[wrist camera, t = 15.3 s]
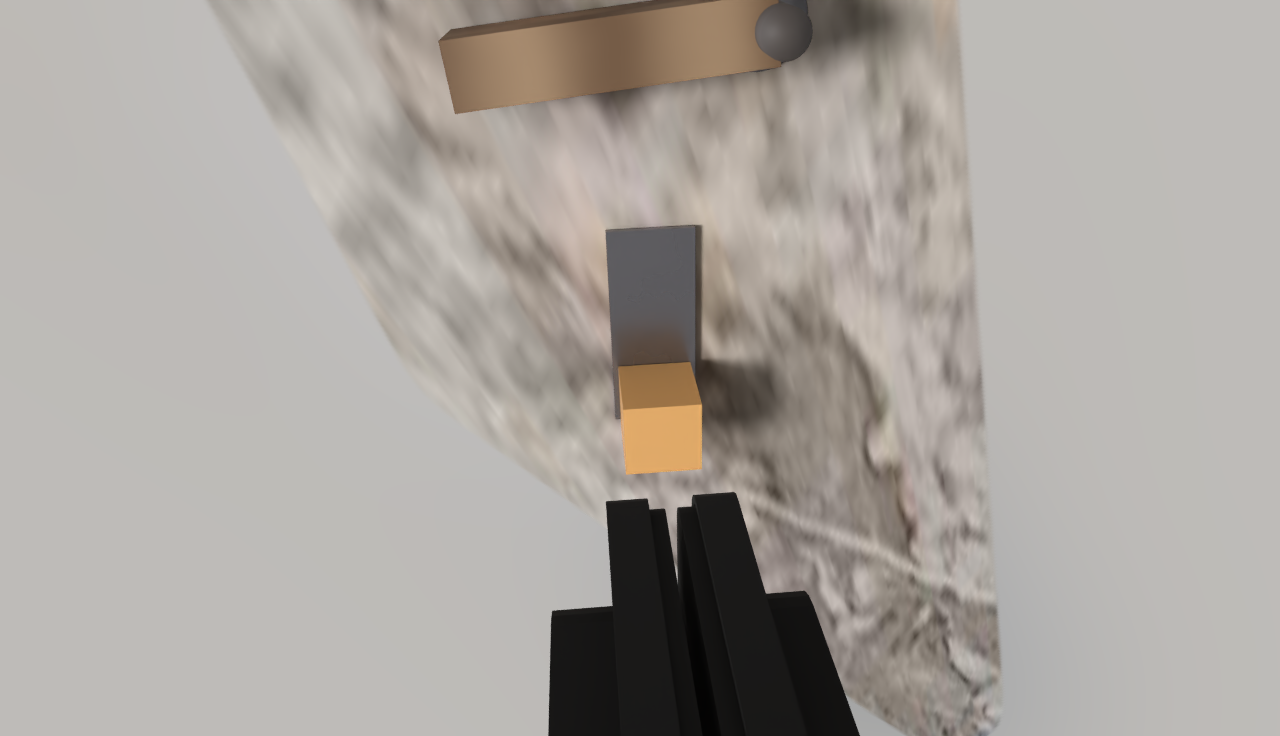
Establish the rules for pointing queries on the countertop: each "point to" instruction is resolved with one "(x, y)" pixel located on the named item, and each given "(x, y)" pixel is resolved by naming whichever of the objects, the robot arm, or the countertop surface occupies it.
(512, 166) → the countertop surface
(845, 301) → the countertop surface
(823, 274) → the countertop surface
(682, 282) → the grey flat plate
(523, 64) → the bar
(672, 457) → the orange cube
